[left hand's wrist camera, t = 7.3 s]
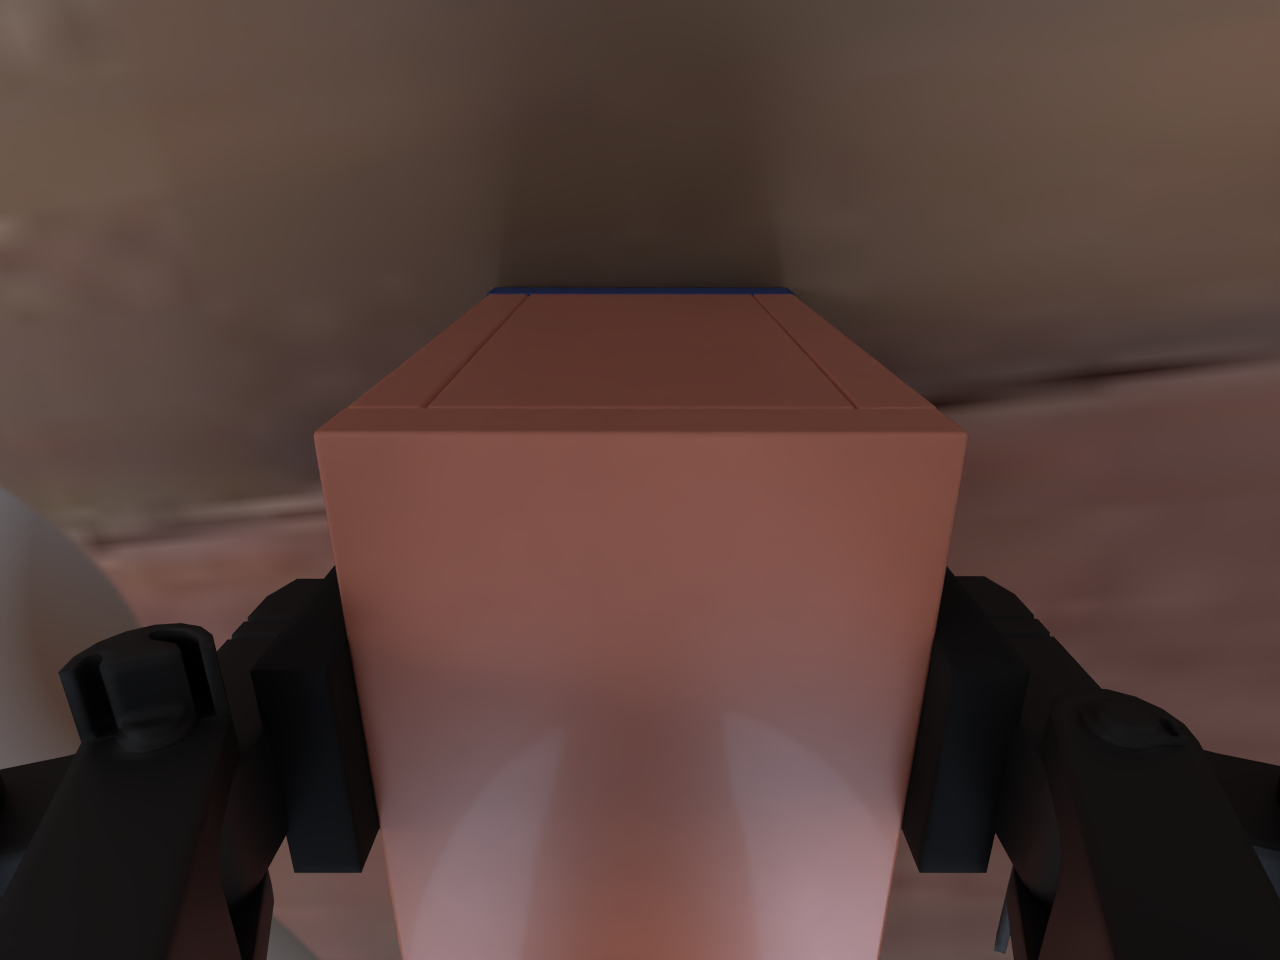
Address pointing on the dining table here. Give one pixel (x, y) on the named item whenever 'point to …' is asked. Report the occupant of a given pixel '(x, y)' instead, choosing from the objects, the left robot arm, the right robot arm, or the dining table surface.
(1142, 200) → the dining table surface
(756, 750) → the cabinet
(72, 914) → the left robot arm
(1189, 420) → the dining table surface
